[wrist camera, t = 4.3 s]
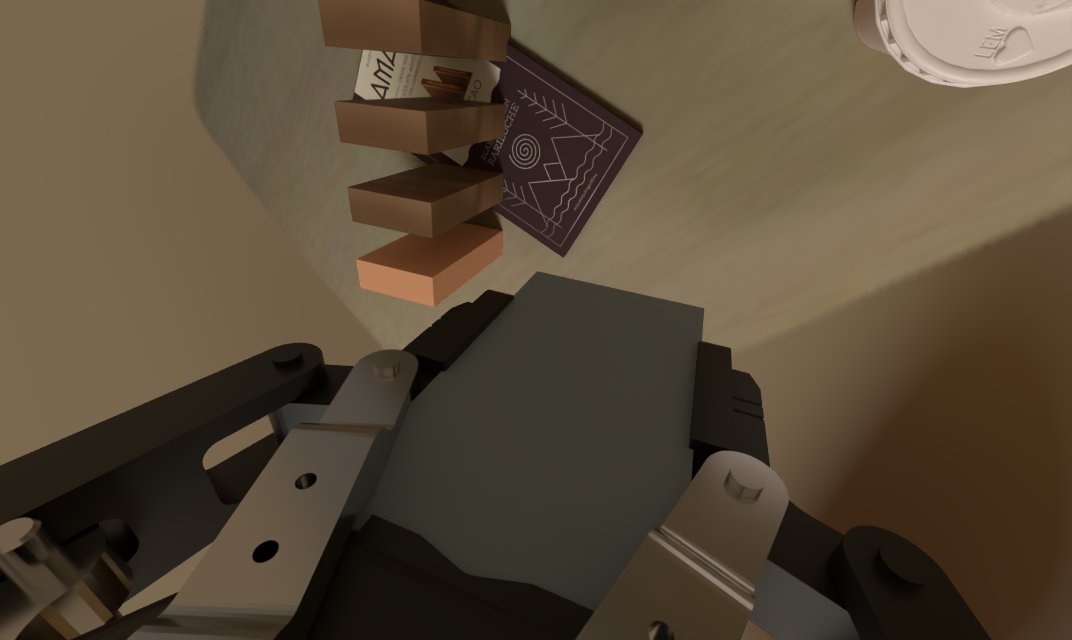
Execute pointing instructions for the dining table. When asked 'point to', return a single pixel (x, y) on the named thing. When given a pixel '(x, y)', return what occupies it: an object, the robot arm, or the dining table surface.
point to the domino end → (430, 263)
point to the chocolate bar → (518, 133)
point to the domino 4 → (551, 439)
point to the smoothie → (969, 38)
